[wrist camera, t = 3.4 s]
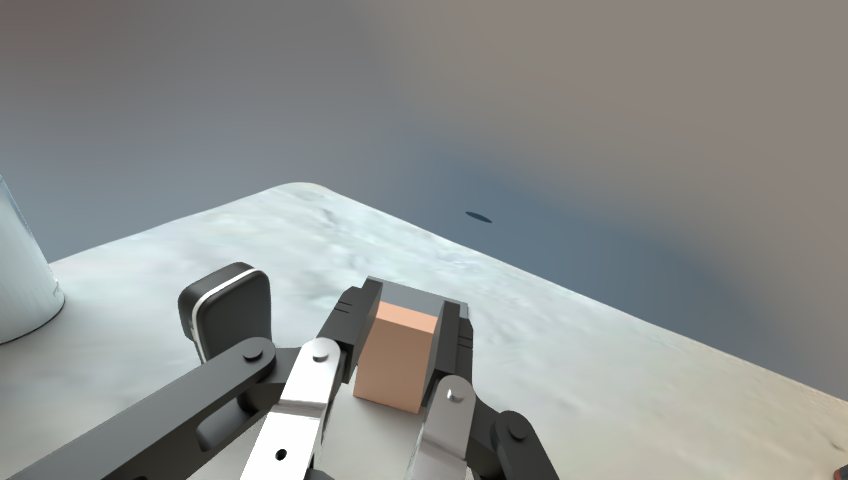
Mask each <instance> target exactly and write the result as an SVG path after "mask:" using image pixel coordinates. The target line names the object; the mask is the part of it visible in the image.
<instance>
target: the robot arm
mask: <svg viewBox="0 0 848 480" xmlns="http://www.w3.org/2000/svg"><path fill="white" fill-rule="evenodd" d="M382 288H383V282H379V281H376V280H372V279H369V278H367V279H366V281H365V283H364V285H363V287H362V288H357V287H354V286H352V287H350V288H349V289H348V290H346V291H345V292H343V294H342V295H341V297H340V299H339V300H338V303H337V304H336V305H335V307H334V309H333V310H332V312H331V314H330V315H329V317H328V319H327V320H326V322H325V324H324V325H323V327H322V329H321V330H320V332H319V334H318V335H317V337H316V338H315V339H312V340H310V341H308V342H307V343H306V344H305V345H304V346H302V347H298V348H275V345H274V344H273V342H272V341H270V340H269V339H267V338H263V337H253V338H249V339H246V340H244V341H242V342H240V343H238V344H236V345H235V346H233V347H231V348H230V349H228V350H226V351H224V352H223V353H221V354H219V355H218V356H216V357H214V358H213V359H211V360H209V361H207V362H206V363H204V364H202V365H201V366H199V367H197V368H196V369H194V370H192V371H190V372H189V373H187V374H185V375H184V376H182V377H180V378H179V379H177V380H175V381H173V382H172V383H170V384H168V385H167V386H165V387H163V388H161V389H160V390H158V391H156V392H155V393H153V394H151V395H150V396H148V397H146V398H144V399H143V400H141V401H139V402H138V403H136V404H134V405H133V406H131V407H129V408H127V409H126V410H124V411H122V412H121V413H119V414H117V415H115V416H114V417H112V418H110V419H109V420H107V421H105V422H104V423H102V424H100V425H98V426H97V427H95V428H93V429H92V430H90V431H88V432H87V433H85V434H83V435H81V436H80V437H78V438H76V439H75V440H73V441H71V442H69V443H68V444H66V445H64V446H63V447H61V448H59V449H58V450H56V451H54V452H52V453H51V454H49V455H47V456H46V457H44V458H42V459H41V460H39V461H37V462H35V463H34V464H32V465H30V466H29V467H27V468H25V469H24V470H22V471H20V472H18V473H17V474H15V475H13V476H12V477H10V478H8V479H6V480H186V479H187V478H188V477H190V476H191V475H192V474H193V473H195V472H196V471H197V470H198V469H199V468H201V467H202V466H203V465H204V464H206V463H207V462H208V461H209V460H210V459H212V458H213V457H214V456H215V455H217V454H218V453H219V452H220V451H221V450H223V449H224V448H225V447H226V446H228V445H229V444H230V443H231V442H232V441H234V440H235V439H236V438H237V437H239V436H240V435H241V434H242V433H243V432H245V431H246V430H247V429H248V428H250V427H251V426H252V425H253V424H255V423H256V422H257V421H258V420H259V419H261V418H262V417H263V416H264V415H266V414H267V413H268V412H269V411H270V412H269V414H268V417H267V419H266V421H265V423H264V426H263V428H262V430H261V433H260V435H259V437H258V440H257V442H256V444H255V447H254V449H253V451H252V454H251V456H250V458H249V461H248V463H247V465H246V468H245V470H244V472H243V475H242V477H241V479H240V480H334V479H333V478H332V477H330V476H329V475H327V474H326V473H324V472H323V471H319V470H318V465H319V460H320V455H321V451H322V447H323V443H324V439H325V435H326V431H327V427H328V423H329V420H330V416H331V412H332V408H333V404H334V400H335V396H336V394H337V392H338V390H339V387H340V385H341V383H345V384H348V383H349V381H350V379H351V376H352V374H353V371H354V369H355V367H356V364H357V362H358V359H359V357H360V355H361V352H362V350H363V347H364V345H365V343H366V340H367V338H368V335H369V333H370V331H371V328H372V326H373V323H374V321H375V318H376V315H377V312H378V308H379V303H380V298H381V293H382ZM63 303H64V294H63V292H62V291H61V289H60V287H59V284H58V282H57V280H56V278H55V277H54V275H53V273H52V271H51V270H50V267H49V266H48V264H47V262H46V260H45V258H44V256H43V254H42V252H41V250H40V248H39V246H38V245H37V243H36V241H35V239H34V237H33V235H32V233H31V231H30V230H29V227H28V226H27V224H26V222H25V220H24V218H23V216H22V214H21V212H20V210H19V208H18V207H17V205H16V203H15V201H14V199H13V197H12V195H11V193H10V191H9V189H8V188H7V186H6V184H5V182H4V180H3V178H2V176H1V174H0V344H1V343H4V342H7V341H10V340H12V339H15V338H17V337H20V336H22V335H24V334H26V333H28V332H30V331H32V330H34V329H36V328H38V327H40V326H41V325H43V324H44V323H46V322H47V321H49V320H50V319H51V318H52V317H53V316H54V315H56V314H57V313H58V311H59V310H60V309H61V307H62V306H63ZM459 316H460V304H457V303H453V302H449V301H446V300H444V302H443V305H442V307H441V310H440V313H439V316H438V319H437V322H436V325H435V329H434V333H433V337H432V343H431V348H430V354H429V359H428V365H427V370H426V376H425V382H424V387H423V393H422V398H421V404H420V406H423V407H426V413H425V419H424V421H423V424H422V426H421V429H420V432H419V435H418V438H417V441H416V444H415V447H414V450H413V453H412V456H411V459H410V462H409V465H408V468H407V471H406V474H405V477H404V480H465V475H466V469H467V466H468V467H469V468H471V471H472V474H473V477H474V480H560V479H559V477H558V475H557V473H556V471H555V470H554V468H553V466H552V464H551V462H550V460H549V458H548V456H547V454H546V452H545V450H544V448H543V446H542V444H541V442H540V440H539V438H538V437H537V435H536V433H535V431H534V429H533V427H532V425H531V424H530V423H529V421H528V420H527V419H526V418H525V417H524V416H522V415H521V414H519V413H517V412H514V411H503V412H501V413H498V412H497V411H495V410H494V409H492V408H490V407H489V406H487V405H486V404H485V403H483V402H482V401H481V400H480V399H479V398H478V396H477V395H476V393H475V391H474V389H473V386H472V358H473V350H472V349H473V327H472V325H471V323H470V320H469V319H466V318H462V317H459Z"/></svg>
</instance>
